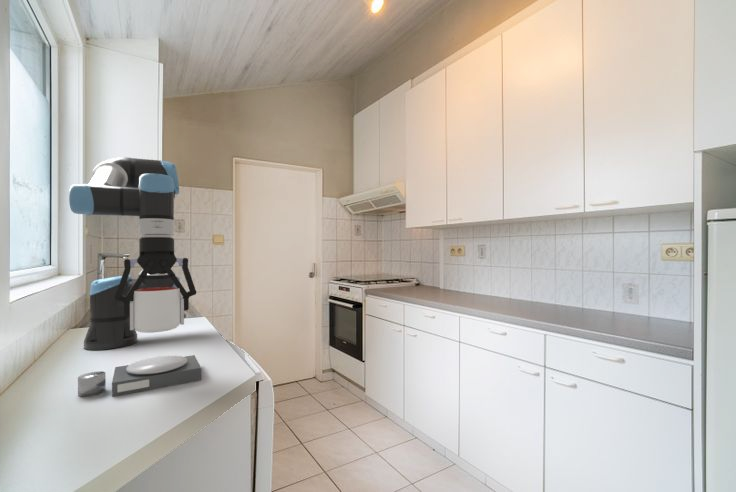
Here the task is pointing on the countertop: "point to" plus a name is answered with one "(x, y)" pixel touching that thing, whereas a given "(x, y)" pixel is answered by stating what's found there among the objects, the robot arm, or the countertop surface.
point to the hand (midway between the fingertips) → (157, 326)
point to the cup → (156, 309)
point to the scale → (155, 374)
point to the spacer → (91, 384)
